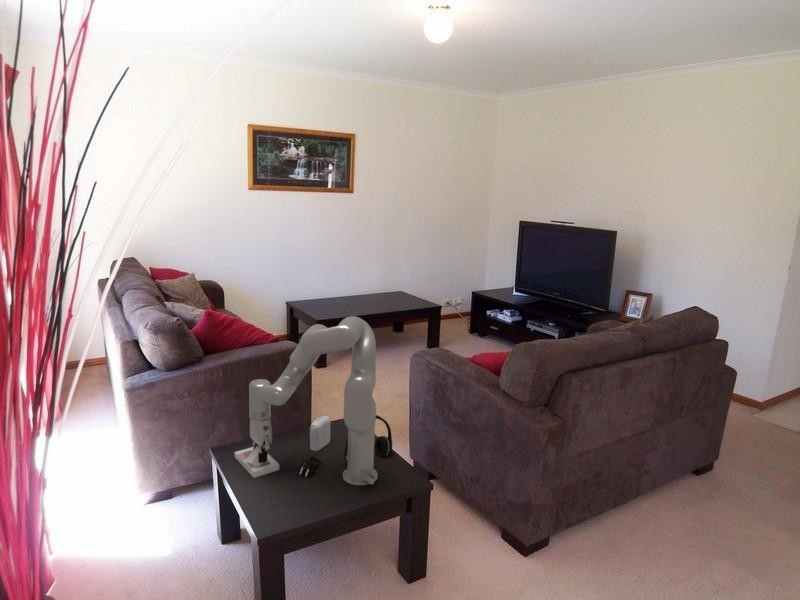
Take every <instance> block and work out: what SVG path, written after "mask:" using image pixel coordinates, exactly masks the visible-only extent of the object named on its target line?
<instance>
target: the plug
mask: <svg viewBox="0 0 800 600" xmlns="http://www.w3.org/2000/svg"><path fill="white" fill-rule="evenodd" d="M264 447H265V446H262V449H263V448H264ZM259 453H260V451H259V446H256V447H255V449H254V450H253V451H252V453H251V454H250V455H249V457H248V458H247V460H248V461H249V462H250V463H251V464H252V465H254V466H255V467H257V468H259V467H260V466H261V464H262V463H263V462H262V463H259ZM268 455H270V454H269V453H268V452H267V456H268Z"/></svg>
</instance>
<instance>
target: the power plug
mask: <svg viewBox="0 0 800 600" xmlns="http://www.w3.org/2000/svg"><path fill="white" fill-rule="evenodd" d="M316 464H323V463H322V461H321V460H320V459H319V458H317V457H316V456H314V455H311V454H306V456H304V457H302V458H301V459H300V460H299V463H298V465H297V466H298V467H300V471H299V475H302V474H303V471H304V469H306V472H305V475H304V477H308V476H309V472H310V471H311V472H314V470H315V467H316Z"/></svg>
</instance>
